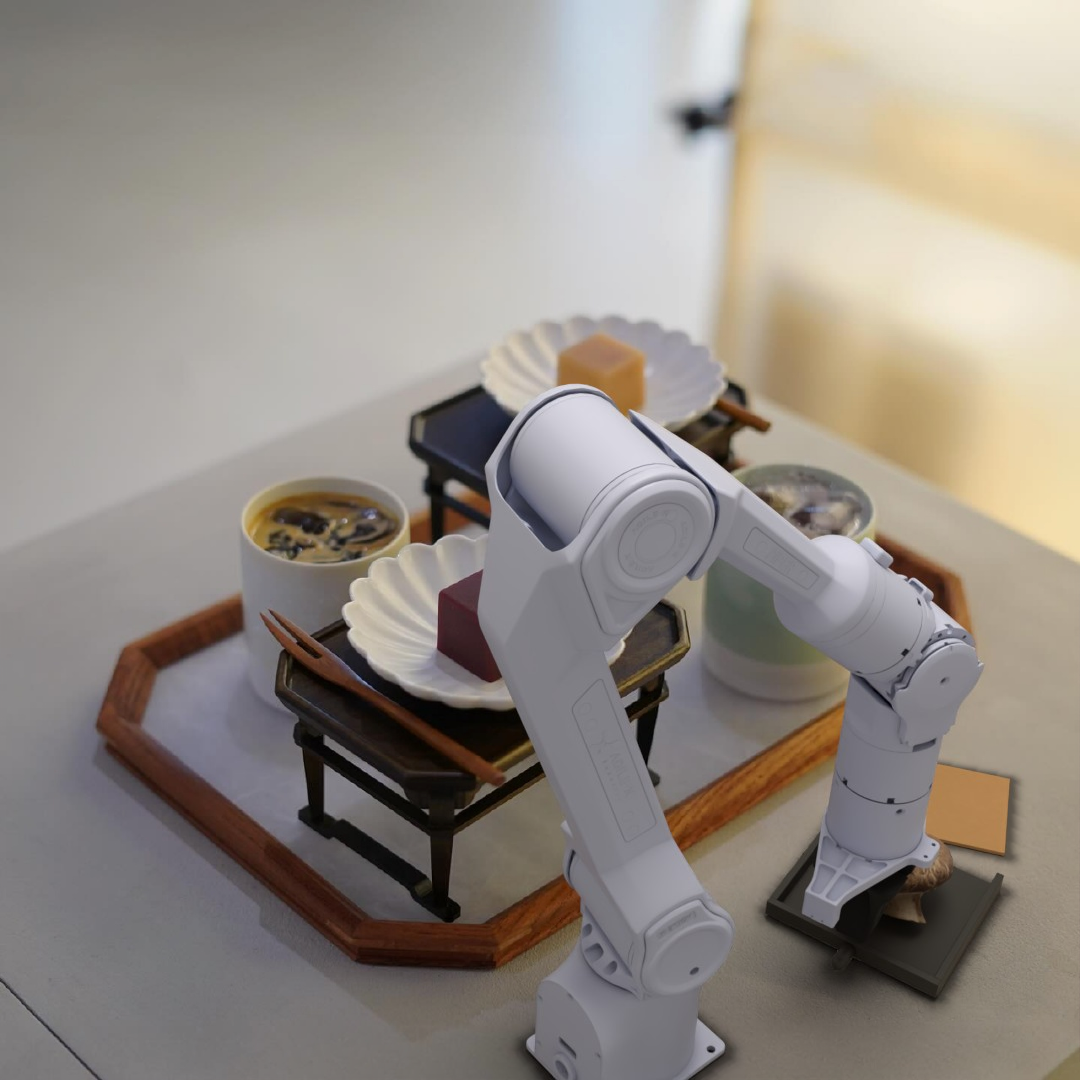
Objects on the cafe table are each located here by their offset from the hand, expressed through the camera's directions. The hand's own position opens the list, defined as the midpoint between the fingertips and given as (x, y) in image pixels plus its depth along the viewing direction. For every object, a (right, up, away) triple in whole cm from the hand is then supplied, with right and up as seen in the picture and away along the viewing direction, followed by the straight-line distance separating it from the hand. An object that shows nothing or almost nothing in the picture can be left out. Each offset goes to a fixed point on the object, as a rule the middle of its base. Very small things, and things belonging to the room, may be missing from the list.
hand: (853, 930), depth 97 cm
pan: (+3, 0, +5) cm, 5 cm away
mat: (+10, +6, +13) cm, 17 cm away
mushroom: (+3, +1, +5) cm, 6 cm away
